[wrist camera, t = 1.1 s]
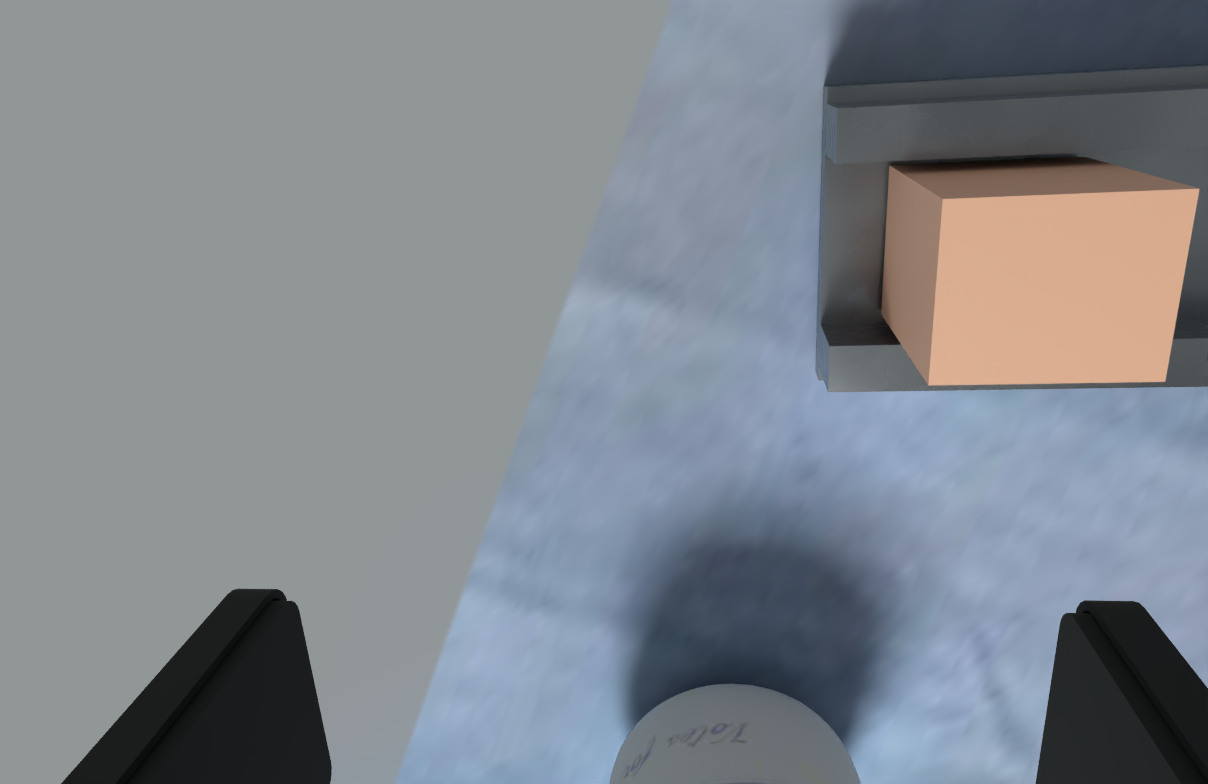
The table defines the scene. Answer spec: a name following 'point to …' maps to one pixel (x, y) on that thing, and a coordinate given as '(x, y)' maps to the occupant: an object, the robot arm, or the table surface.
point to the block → (1035, 270)
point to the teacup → (733, 741)
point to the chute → (992, 133)
